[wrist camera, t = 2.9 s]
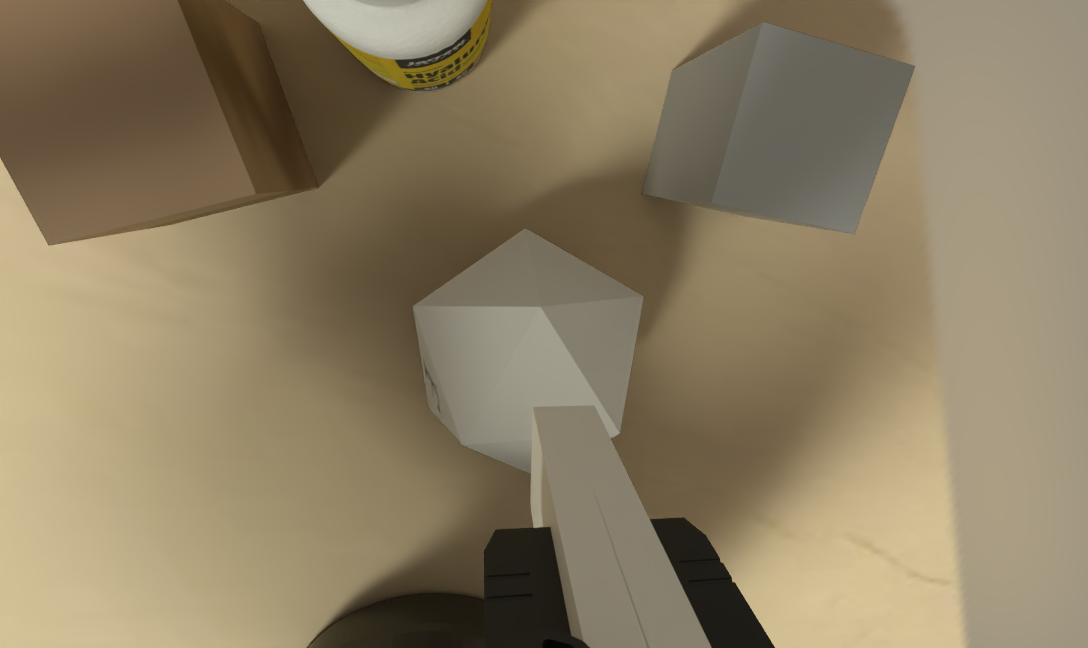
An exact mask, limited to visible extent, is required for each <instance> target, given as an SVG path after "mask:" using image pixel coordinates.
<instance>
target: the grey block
mask: <svg viewBox="0 0 1088 648" xmlns="http://www.w3.org/2000/svg"><path fill="white" fill-rule="evenodd" d="M914 68H915V66H913V65H910V64H906V63H903V62H899V61H896V60H893V59H889V58H886V57H882V56H879V55H875V54H872V53H868V52H865V51H862V50H858V49H855V48H851V47H848V46H844V45H841V44H837V43H834V42H831V41H827V40H824V39H820V38H817V37H813V36H810V35H806V34H803V33H800V32H796V31H793V30H789V29H786V28H782V27H779V26H775V25H772V24H769V23H765V22H762V23H760V24H758V25H756V26H754V27H752V28H750V29H748V30H747V31H745V32H743V33H741V34H739V35H737V36H735V37H734V38H732V39H730V40H728V41H726V42H724V43H722V44H720V45H719V46H717V47H715V48H713V49H711V50H709V51H707V52H705V53H704V54H702V55H700V56H698V57H696V58H694V59H692V60H691V61H689V62H687V63H685V64H683V65H681V66H679V67H677V68H676V69H674V70H672V73H671V77H670V82H669V86H668V90H667V94H666V98H665V102H664V106H663V110H662V114H661V118H660V122H659V126H658V130H657V134H656V138H655V142H654V146H653V150H652V154H651V158H650V162H649V166H648V171H647V175H646V179H645V183H644V187H643V191H642V194H645V195H649V196H654V197H658V198H663V199H668V200H672V201H677V202H682V203H686V204H691V205H695V206H700V207H705V208H709V209H714V210H719V211H723V212H728V213H732V214H737V215H742V216H746V217H752V218H759V219H765V220H771V221H777V222H783V223H789V224H795V225H801V226H807V227H813V228H820V229H826V230H832V231H838V232H844V233H850V234H855V232H856V229H857V226H858V223H859V220H860V218H861V215H862V212H863V209H864V207H865V204H866V201H867V198H868V196H869V193H870V190H871V187H872V184H873V182H874V179H875V176H876V173H877V171H878V168H879V165H880V162H881V160H882V157H883V154H884V151H885V149H886V146H887V143H888V140H889V137H890V135H891V132H892V129H893V126H894V124H895V121H896V118H897V115H898V113H899V110H900V107H901V104H902V101H903V99H904V96H905V93H906V90H907V88H908V85H909V82H910V79H911V77H912V74H913V71H914Z"/></svg>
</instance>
